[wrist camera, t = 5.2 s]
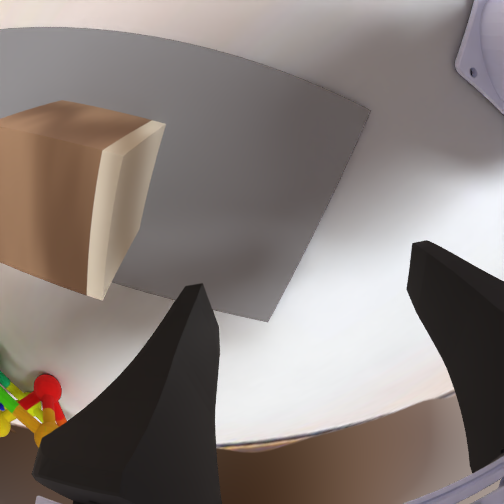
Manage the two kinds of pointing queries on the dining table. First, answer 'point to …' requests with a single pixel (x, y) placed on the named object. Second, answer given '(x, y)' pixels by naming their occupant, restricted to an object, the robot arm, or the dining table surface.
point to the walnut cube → (73, 191)
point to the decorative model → (32, 406)
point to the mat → (201, 154)
